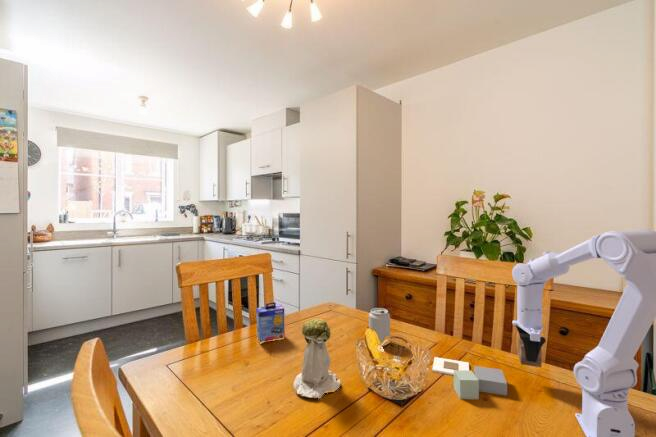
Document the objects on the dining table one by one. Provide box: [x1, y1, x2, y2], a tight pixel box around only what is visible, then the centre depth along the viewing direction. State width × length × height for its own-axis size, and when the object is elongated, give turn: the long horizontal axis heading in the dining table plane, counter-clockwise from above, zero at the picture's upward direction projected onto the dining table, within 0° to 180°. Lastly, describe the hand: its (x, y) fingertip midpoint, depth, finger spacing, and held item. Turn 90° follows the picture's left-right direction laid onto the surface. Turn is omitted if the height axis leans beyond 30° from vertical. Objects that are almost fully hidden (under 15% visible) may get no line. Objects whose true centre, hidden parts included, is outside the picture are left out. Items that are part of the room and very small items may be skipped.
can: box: [368, 307, 391, 343], centre depth 111 cm, size 8×8×12 cm
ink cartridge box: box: [255, 301, 286, 342], centre depth 116 cm, size 10×6×14 cm, turn 115°
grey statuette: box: [292, 318, 341, 400], centre depth 86 cm, size 12×13×18 cm
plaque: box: [431, 356, 470, 376], centre depth 93 cm, size 8×10×1 cm
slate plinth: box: [473, 365, 508, 396], centre depth 84 cm, size 7×7×4 cm
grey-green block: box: [453, 370, 480, 400], centre depth 81 cm, size 5×5×5 cm
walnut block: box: [517, 339, 543, 368], centre depth 84 cm, size 5×5×5 cm
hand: (529, 356), depth 84 cm, fingers closed on walnut block, 5 cm apart
